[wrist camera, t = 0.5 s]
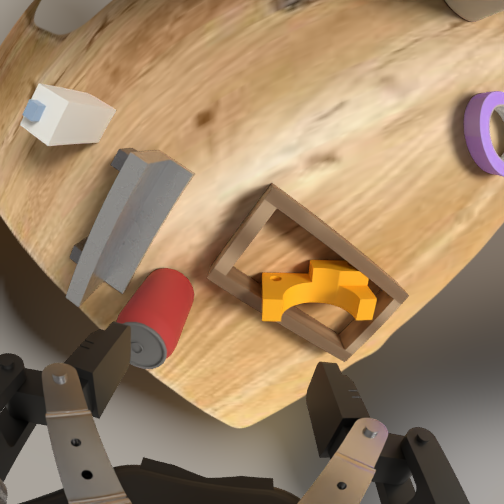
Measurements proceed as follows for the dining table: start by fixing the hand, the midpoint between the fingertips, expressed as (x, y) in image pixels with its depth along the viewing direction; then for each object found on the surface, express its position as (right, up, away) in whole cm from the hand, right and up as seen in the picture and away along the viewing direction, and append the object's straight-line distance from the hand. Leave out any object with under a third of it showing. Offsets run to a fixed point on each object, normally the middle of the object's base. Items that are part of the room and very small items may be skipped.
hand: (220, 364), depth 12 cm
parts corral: (+9, +2, +24) cm, 25 cm away
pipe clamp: (+9, +2, +24) cm, 25 cm away
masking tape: (+34, +21, +17) cm, 44 cm away
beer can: (-9, 0, +25) cm, 27 cm away
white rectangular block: (-18, +21, +17) cm, 32 cm away
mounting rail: (-14, +9, +22) cm, 27 cm away
